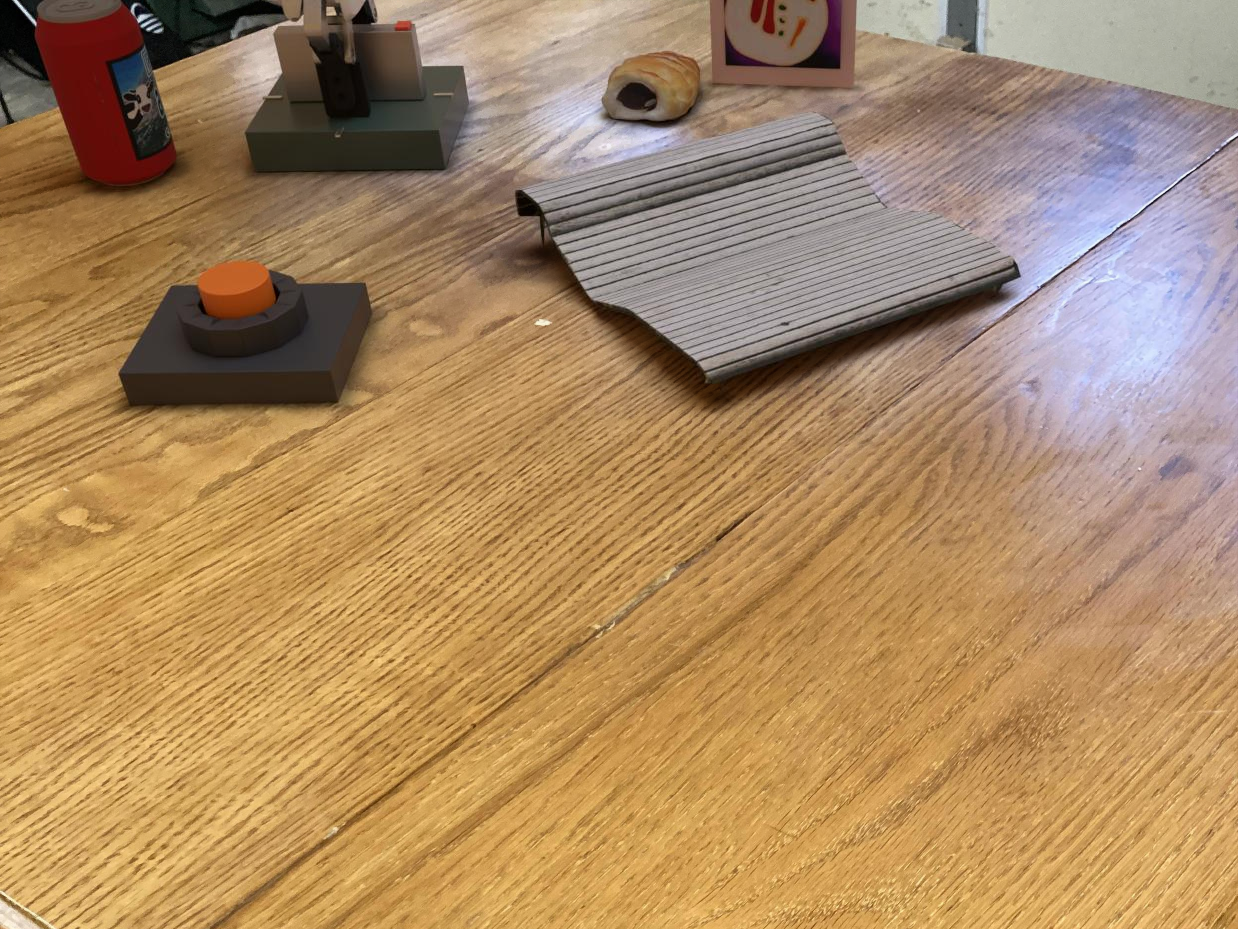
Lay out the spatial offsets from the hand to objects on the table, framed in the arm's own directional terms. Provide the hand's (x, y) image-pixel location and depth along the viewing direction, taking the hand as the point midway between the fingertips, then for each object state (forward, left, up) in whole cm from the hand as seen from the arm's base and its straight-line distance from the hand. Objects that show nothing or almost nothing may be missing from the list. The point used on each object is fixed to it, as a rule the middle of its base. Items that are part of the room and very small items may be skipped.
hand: (358, 95), depth 106 cm
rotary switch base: (0, 0, -3) cm, 3 cm away
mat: (+9, -36, -3) cm, 37 cm away
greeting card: (+32, -12, -3) cm, 34 cm away
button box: (-21, -24, -3) cm, 32 cm away
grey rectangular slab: (0, 0, 0) cm, 0 cm away
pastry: (+20, -10, -3) cm, 23 cm away
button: (-21, -24, 0) cm, 32 cm away
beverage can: (-16, +6, -3) cm, 17 cm away
